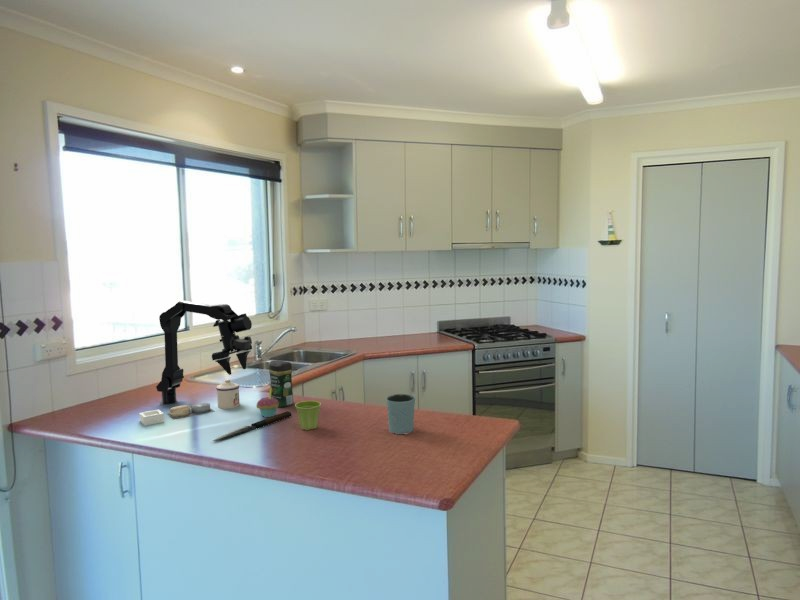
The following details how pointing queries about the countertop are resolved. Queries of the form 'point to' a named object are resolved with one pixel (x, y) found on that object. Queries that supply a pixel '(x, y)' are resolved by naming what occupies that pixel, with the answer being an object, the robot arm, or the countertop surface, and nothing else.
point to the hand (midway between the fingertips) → (237, 371)
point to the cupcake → (268, 405)
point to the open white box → (151, 417)
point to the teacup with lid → (228, 395)
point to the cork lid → (180, 411)
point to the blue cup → (400, 413)
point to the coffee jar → (281, 382)
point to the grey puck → (200, 408)
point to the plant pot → (308, 414)
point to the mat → (190, 414)
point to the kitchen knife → (255, 425)
